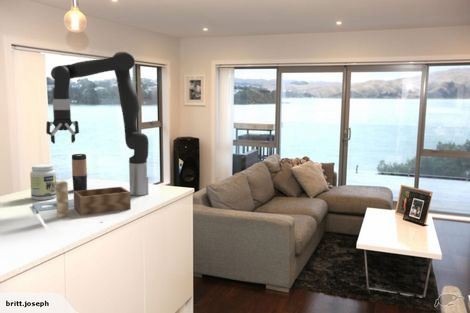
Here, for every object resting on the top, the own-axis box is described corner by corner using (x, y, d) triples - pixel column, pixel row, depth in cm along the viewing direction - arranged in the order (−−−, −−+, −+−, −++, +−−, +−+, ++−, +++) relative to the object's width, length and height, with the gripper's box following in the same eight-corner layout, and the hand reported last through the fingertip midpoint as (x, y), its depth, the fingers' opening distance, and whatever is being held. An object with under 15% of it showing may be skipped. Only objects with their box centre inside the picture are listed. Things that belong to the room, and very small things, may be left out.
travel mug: (90, 189, 240) (89, 154, 237) (81, 192, 233) (80, 156, 230) (79, 188, 243) (77, 153, 240) (69, 190, 235) (68, 155, 233)
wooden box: (121, 204, 207) (120, 186, 206) (130, 211, 195) (130, 192, 194) (74, 210, 195) (73, 191, 194) (81, 217, 184) (80, 197, 182)
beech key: (67, 217, 184) (65, 181, 182) (69, 219, 181) (67, 182, 179) (57, 218, 182) (55, 181, 180) (59, 220, 179) (57, 183, 177)
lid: (82, 200, 214) (82, 190, 213) (89, 207, 202) (89, 196, 201) (32, 206, 202) (32, 195, 201) (36, 213, 189) (36, 202, 189)
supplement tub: (47, 201, 212) (45, 167, 209) (25, 199, 214) (24, 166, 212) (62, 195, 224) (60, 164, 221) (41, 194, 226) (39, 163, 224)
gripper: (46, 109, 193) (48, 144, 196) (79, 109, 201) (80, 143, 203) (44, 108, 200) (46, 142, 202) (75, 108, 207) (77, 141, 209)
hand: (63, 142), depth 203 cm, fingers open, 8 cm apart
